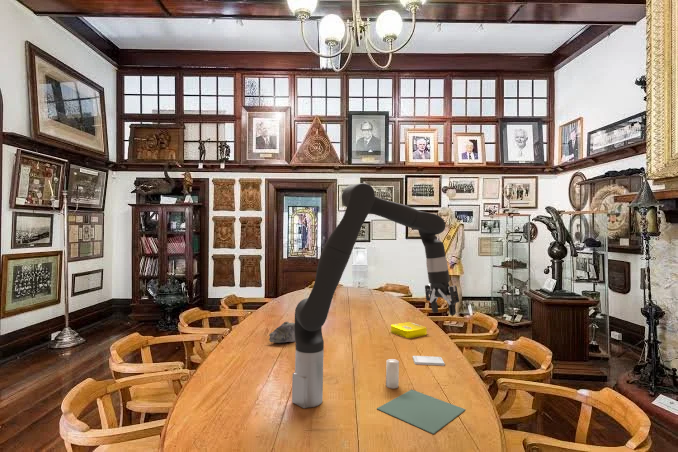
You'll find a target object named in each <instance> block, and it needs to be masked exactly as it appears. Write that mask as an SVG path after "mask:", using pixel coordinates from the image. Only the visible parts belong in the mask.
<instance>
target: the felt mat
mask: <svg viewBox="0 0 678 452" xmlns="http://www.w3.org/2000/svg"><path fill="white" fill-rule="evenodd" d="M376 410H377V411H380V412H382V413H384V414H387V415H389V416H391V417H394V418H395V419H398V420H401V421H402V422H405V423H407V424H409V425H411V426H413V427H416V428H418V429H420V430H423V431H424V432H427V433H429V434H432V435H435V434H436V433H437V432H438V431H440V430H442V428H444V427H445V426H447V425H448V424H450V423H451V422H452V421H453V420H454V419H455V418H457V417H458V416H460V415H461V414H463V413H464V412H465V411H466V408H464V407H461V406H457V405H455V404H452V403H449V402H446V401H444V400H441V399H439V398H437V397H434V396H431V395H428V394H426V393H423V392H420V391H417V390H414V389H410V390H408V391H406V392H404V393H402V394H400V395H399V396H397V397H395V398H393V399H392V400H390V401H388V402H386V403H384V404H382V405H380V406H379V407H377V408H376Z"/></svg>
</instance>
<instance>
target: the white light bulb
mask: <svg viewBox="0 0 678 452" xmlns="http://www.w3.org/2000/svg"><path fill="white" fill-rule="evenodd" d="M385 362H386V367H385V368H386V369H385V370H386V371H385V386H386V388H388V389H393V390H394V389H397V388H399V379H400V378H399V377H400V376H399V375H400V372H399V371H400V370H399V369H400V361H399V360H398V359H395V358H389V359H386V361H385Z"/></svg>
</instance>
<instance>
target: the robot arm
mask: <svg viewBox="0 0 678 452" xmlns="http://www.w3.org/2000/svg"><path fill="white" fill-rule="evenodd" d="M341 201H342V203H343V205H344V206H345V207H346V208H345V211H344V214H343V216H342V219H341V220H340V221H339V223H338V224H337V226H336V227H335V228H334V229H333V231H332V233H330V235H329V237H328V238H327V240H326V242H325V243H324V246H323V248H322V251H321V253H320V256H319V259H318V262H317V269H316V271H315V272H316V273H315V279H314V283H313V285H312V286H313V287H312V289H311V291H310V294H309V296H308V297H307V298H304V299H301V300H300V301H299V302H298V303H297V304H296V307H295V309H294V310H295V311H294V323H295V341H294V342H295V354H294V358H295V361H294V372H292V382H291V383H292V384H291V385H292V389H291V402H292V403H293V404H295V405H296V406H298V407H301V408H303V409H307V408H314V407H318V406H319V405H321V404H322V403H323V398H324V397H323V394H324V393H323V392H324V391H323V390H324V354H325V353H324V349H325V348H324V347H325V346H324V344H325V343H324V338H323V331H322V330H323V326H324V324H326V321H327V318H328V315H329V311H330V308H331V305H332V302H333V298H334V295H335V292H336V290H337V288H338V286H339V283H340V281H341V279H342V276H343V274H344V272H345V270H346V267H347V264H348V263H349V259H350V257H351V255H352V252H353V249H354V247H355V244H356V242H357V239H358V238H359V235H360V234H359V233H360V232H361V230H362V227H363V225H364V223H365V220H366V219H367V217H368V215H369V214H373V215H375V216H379V217H382V218H383V219H387V220H389V221H391V222H394V223H397V224H399V225H402V226H405V227H407V228H410V229H417V230H418V233H419V237H420V239H421V242H422V244H423V247H424V251H425V252H424V253H425V258H426V261H425V262H426V272H427V277H428V283H429V284H426V285H424V293H425V299H426V301H427V302H429V303H430V306H431V312H432V313H433V314H436V313H439V306H438V302H437V300H438V298H441V299H444V300H445V301H446V302H447V304H448V310H449V316H454V315H456V314H457V313H456V312H457V310H456V304H457V303H460V298H459V293H458V288H457V286H456V285H451V286H450V283H449V282H450V281H451V279H450V271H449V266H448V260H447V257H446V251H445V244H444V243H443V241H442V240H438V239H437V236H436V235H441V234H442V233H443V232H444V231H445V230H446V222H445V220H444V218H443V217H441V216H440V215H438V214H437V213H432V212H427V211H421V210H418V209H416V208H414V207H411V206H409V205H406V204H403V203H399V202H395V201H391V200H387V199H383V198H381V197H378V196H376V193H375V189H374V188H373V186H372V185H371V184H369V183H365V182H360V183H353V184H350V185H349V186H347V187H345V188H344V189H343V190H342V194H341Z"/></svg>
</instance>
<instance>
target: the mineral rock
mask: <svg viewBox="0 0 678 452" xmlns="http://www.w3.org/2000/svg"><path fill="white" fill-rule="evenodd" d="M268 337H269V339H268V340H269V342H270V343H273V344H274V343H275V344H285V343H287V342H289V343H290V342H295V322H289V321H285V322H283V323H282V324H281V325H279V326H278V327H276V328H275V329H274V330H273V331H272V332H271V333H269V336H268Z"/></svg>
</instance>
